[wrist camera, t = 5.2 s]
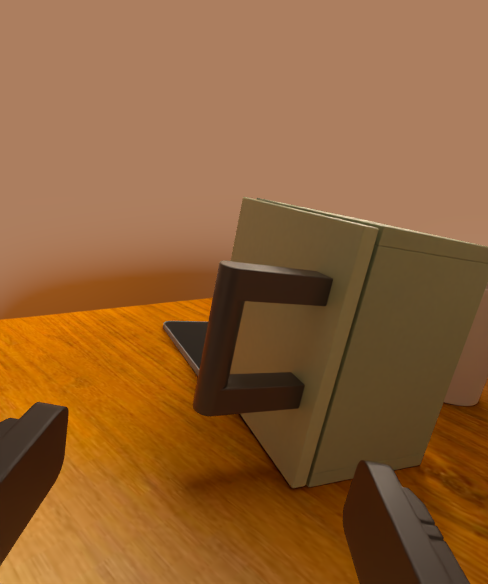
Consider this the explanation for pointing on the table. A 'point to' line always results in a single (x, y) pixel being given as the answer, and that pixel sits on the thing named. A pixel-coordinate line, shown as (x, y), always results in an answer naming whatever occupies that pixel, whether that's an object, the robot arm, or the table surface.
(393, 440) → the cupboard
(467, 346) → the cup
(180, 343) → the smartphone
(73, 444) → the table surface
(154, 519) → the table surface
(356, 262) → the cupboard door
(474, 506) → the table surface
